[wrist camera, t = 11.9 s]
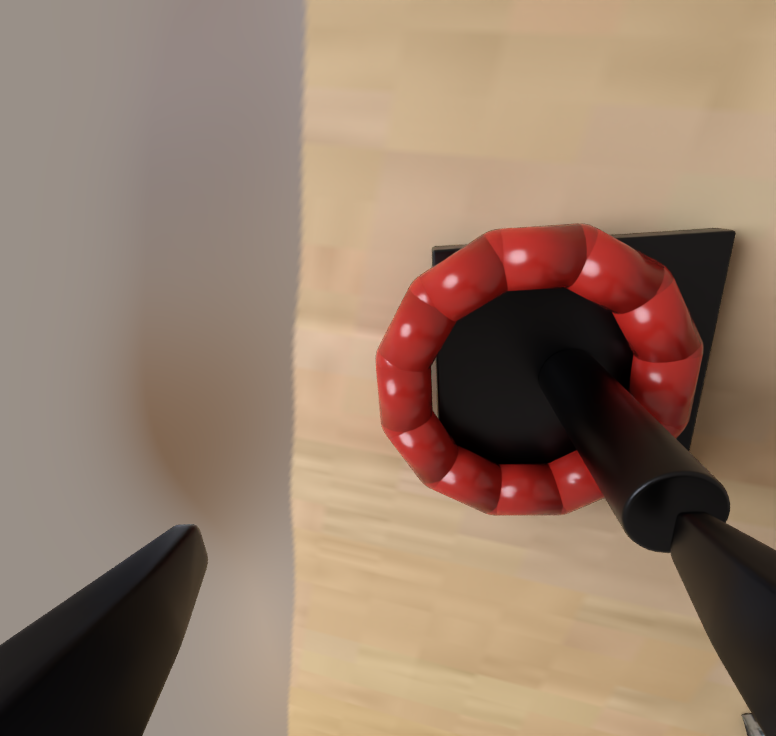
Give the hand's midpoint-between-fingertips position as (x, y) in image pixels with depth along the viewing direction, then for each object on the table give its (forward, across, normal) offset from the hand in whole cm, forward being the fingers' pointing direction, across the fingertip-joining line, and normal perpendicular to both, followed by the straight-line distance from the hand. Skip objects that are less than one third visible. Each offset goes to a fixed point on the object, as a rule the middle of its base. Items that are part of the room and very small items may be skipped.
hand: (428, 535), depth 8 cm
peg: (+8, -5, 0) cm, 10 cm away
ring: (+7, -4, 0) cm, 7 cm away
